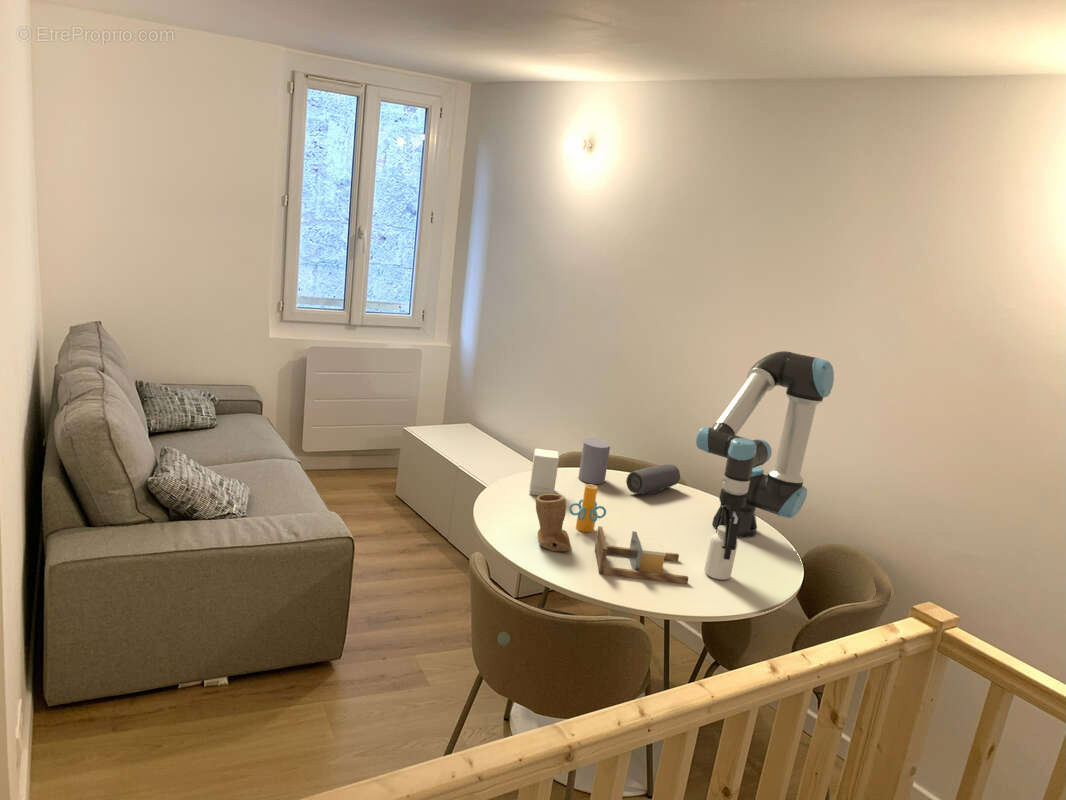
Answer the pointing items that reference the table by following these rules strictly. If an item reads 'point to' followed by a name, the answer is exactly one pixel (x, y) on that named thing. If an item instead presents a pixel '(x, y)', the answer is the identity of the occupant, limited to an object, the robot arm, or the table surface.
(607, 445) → the container
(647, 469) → the bluetooth speaker
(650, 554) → the cream cube
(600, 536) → the lane
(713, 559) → the pill bottle
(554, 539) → the brown felt boot
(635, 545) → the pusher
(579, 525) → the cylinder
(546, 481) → the supplement box
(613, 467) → the table surface
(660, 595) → the table surface
